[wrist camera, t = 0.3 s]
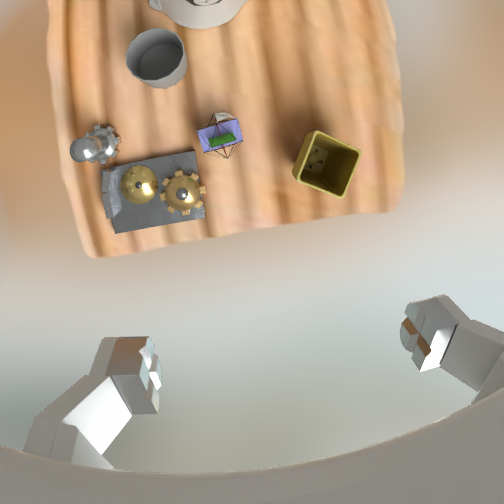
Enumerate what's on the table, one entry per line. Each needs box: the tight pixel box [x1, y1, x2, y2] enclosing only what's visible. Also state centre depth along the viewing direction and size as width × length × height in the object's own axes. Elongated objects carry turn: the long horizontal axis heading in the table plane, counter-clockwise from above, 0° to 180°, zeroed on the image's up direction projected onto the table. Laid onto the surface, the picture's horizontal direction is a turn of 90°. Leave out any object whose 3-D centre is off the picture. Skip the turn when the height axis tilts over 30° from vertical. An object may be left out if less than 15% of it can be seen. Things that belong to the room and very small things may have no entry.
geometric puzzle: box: [197, 112, 243, 159], centre depth 47 cm, size 7×7×8 cm
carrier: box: [101, 150, 205, 234], centre depth 51 cm, size 12×17×4 cm
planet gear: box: [70, 125, 121, 165], centre depth 42 cm, size 7×7×11 cm
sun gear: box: [160, 169, 205, 215], centre depth 51 cm, size 8×8×4 cm
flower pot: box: [292, 130, 361, 199], centre depth 50 cm, size 9×9×9 cm
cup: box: [126, 28, 188, 89], centre depth 39 cm, size 8×8×10 cm
